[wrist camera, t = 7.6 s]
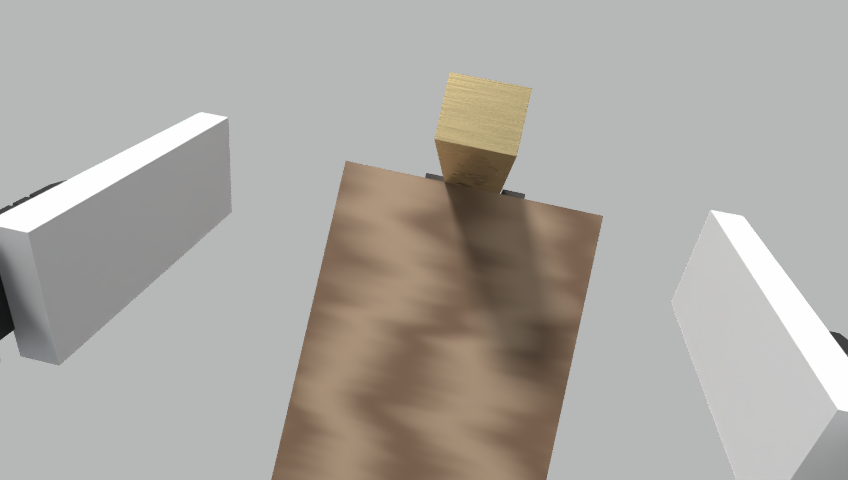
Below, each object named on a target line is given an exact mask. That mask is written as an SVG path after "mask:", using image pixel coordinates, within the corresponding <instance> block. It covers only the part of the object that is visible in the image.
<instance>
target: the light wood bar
mask: <svg viewBox="0 0 848 480" xmlns="http://www.w3.org/2000/svg"><path fill="white" fill-rule="evenodd" d="M531 89H532V88H527V87H522V86H517V85H512V84H507V83H502V82H497V81H492V80H487V79H482V78H477V77H472V76H466V75H462V74H456V73H452V72H450V73H449V78H448V83H447V86H446V91H445V95H444V100H443V104H442V108H441V113H440V117H439V122H438V126H437V131H436V135H435V143H436V148H437V152H438V156H439V160H440V165H441V169H442V173H443V178H444V182H447V183H451V184H456V185H461V186H465V187H470V188H474V189H479V190H484V191H488V192H493V193H498V194H500V192H501V190H502V187H503V185H504V183H505V181H506V178H507V177H508V174H509V172H510V170H511V167H512V165H513V163H514V161H515V159H516V156H517V153H518V148H519V144H520V139H521V134H522V130H523V125H524V121H525V116H526V112H527V108H528V103H529V99H530V94H531Z"/></svg>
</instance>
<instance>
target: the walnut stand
mask: <svg viewBox="0 0 848 480" xmlns="http://www.w3.org/2000/svg"><path fill="white" fill-rule="evenodd" d="M524 197H525V194H522V193H517V192H512V191H508V190H503V191H502V193H501V194H498V193H493V192H488V191H484V190H479V189H474V188H470V187H465V186H461V185H456V184H451V183H447V182H444V178H443V176H438V175H433V174H428V173H426V177H425V178H423V177H419V176H414V175H409V174H404V173H400V172H395V171H391V170H386V169H381V168H377V167H372V166H367V165H363V164H358V163H353V162H349V161H346V162H345V167H344V171H343V175H342V180H341V184H340V189H339V193H338V197H337V201H336V206H335V210H334V214H333V219H332V223H331V227H330V231H329V235H328V240H327V244H326V248H325V252H324V257H323V261H322V265H321V270H320V274H319V278H318V282H317V287H316V291H315V295H314V300H313V304H312V308H311V312H310V317H309V321H308V325H307V330H306V334H305V338H304V343H303V347H302V351H301V356H300V360H299V364H298V368H297V372H296V377H295V381H294V385H293V390H292V394H291V398H290V402H289V407H288V411H287V415H286V420H285V424H284V428H283V433H282V437H281V441H280V445H279V450H278V454H277V458H276V462H275V467H274V472H273V475H272V480H546V478H547V473H548V469H549V464H550V459H551V455H552V450H553V445H554V441H555V436H556V431H557V427H558V422H559V418H560V413H561V408H562V404H563V399H564V395H565V390H566V385H567V380H568V376H569V371H570V367H571V362H572V357H573V352H574V348H575V344H576V338H577V334H578V329H579V325H580V320H581V316H582V311H583V306H584V302H585V297H586V293H587V288H588V283H589V278H590V274H591V269H592V265H593V260H594V255H595V251H596V246H597V241H598V237H599V232H600V228H601V223H602V218H603V216H600V215H596V214H591V213H586V212H581V211H577V210H572V209H567V208H563V207H558V206H554V205H549V204H544V203H540V202H535V201H530V200H526V199H524Z"/></svg>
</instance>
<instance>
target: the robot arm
mask: <svg viewBox="0 0 848 480" xmlns="http://www.w3.org/2000/svg"><path fill="white" fill-rule="evenodd" d="M229 152H230V151H229V124H228V117H223V116H218V115H212V114H208V113H202V112H200V113H198V114H196V115H194V116H192V117H190V118H188V119H186V120H184V121H182V122H180V123H178V124H176V125H174V126H172V127H171V128H168V129H167V130H165V131H163V132H161V133H159V134H157V135H155V136H153V137H151V138H149V139H147V140H145V141H143V142H141V143H139V144H137V145H135V146H133V147H132V148H129V149H127V150H126V151H124V152H122V153H120V154H118V155H116V156H114V157H112V158H110V159H108V160H106V161H104V162H102V163H100V164H98V165H96V166H94V167H92V168H90V169H89V170H87V171H85V172H83V173H81V174H79V175H77V176H75V177H73V178H71V179H69V180H65V181H61V182H58V183H54V184H50V185H48V186H46V187H44V188H42V189H41V190H38V191H36V192H34V193H32V194H30V197H24V198H23V199H20V200H19V201H16V202H14V203H13V206H9V205H8V206H6V207H5V208H2V209H1V210H0V340H1V339H2V338H4V337H5V336H6V335H8V334H9V333H10V332H12V331H13V330H14V334H15V337H16V341H17V345H18V348H19V352H20V356H22V357H26V358H31V359H35V360H39V361H43V362H47V363H51V364H55V365H60V364H61V363H62V362H64V360H66V359H67V358H68V357H69V356H70V355H72V354H73V353H74V352H75V351H76V350H77V349H78V348H79V347H81V346H82V345H83V344H84V343H85V342H86V341H87V340H88V339H89V338H91V337H92V336H93V335H94V334H95V333H96V332H97V331H99V330H100V329H101V328H102V327H103V326H104V325H105V324H106V323H107V322H109V320H111V319H112V318H113V317H114V316H115V315H116V314H118V313H119V312H120V311H121V310H122V309H123V308H124V307H125V306H127V305H128V304H129V303H130V302H131V301H132V300H133V299H134V298H136V297H137V295H139V294H140V293H141V292H142V291H143V290H144V289H146V288H147V287H148V286H149V285H150V284H151V283H152V282H153V281H154V280H156V279H157V278H158V277H159V276H160V275H161V274H162V273H163V272H165V271H166V270H167V269H168V268H169V267H170V266H171V265H172V264H174V263H175V262H176V261H177V260H178V259H179V258H180V257H182V256H183V255H184V254H185V253H186V252H187V251H188V250H189V249H191V248H192V247H193V246H194V245H195V244H196V243H197V242H198V241H200V240H201V239H202V238H203V237H204V236H205V235H206V234H207V233H208V232H210V230H212V229H213V228H214V227H215V226H216V225H218V223H220V222H221V221H222V220H223V219H224V218H225V217H227V216H228V215H229V214H230V213H231V212H232V209H231V181H230V153H229ZM671 305H672V307H673V310H674V313H675V316H676V318H677V321H678V324H679V327H680V329H681V332H682V335H683V337H684V340H685V343H686V345H687V348H688V351H689V354H690V357H691V359H692V362H693V365H694V368H695V370H696V373H697V376H698V378H699V381H700V384H701V387H702V389H703V392H704V395H705V398H706V400H707V403H708V406H709V408H710V411H711V414H712V417H713V419H714V422H715V425H716V428H717V430H718V433H719V436H720V438H721V441H722V444H723V447H724V449H725V452H726V455H727V458H728V460H729V463H730V466H731V468H732V471H733V474H734V477H735V479H736V480H848V340H847V339H846V338H845V337H844V336H842V335H841V334H839V333H835V332H830V331H828V330H827V328H826V327H825V326H824V324H823V323H822V322H821V320H820V319H819V318H818V316H817V315H816V313H815V312H814V311H813V310H812V308H811V307H810V305H809V304H808V303H807V301H806V300H805V299H804V297H803V296H802V295H801V293H800V292H799V291H798V289H797V288H796V287H795V285H794V284H793V283H792V281H791V280H790V278H789V277H788V276H787V274H786V273H785V272H784V271H783V269H782V268H781V266H780V265H779V264H778V262H777V261H776V260H775V258H774V257H773V256H772V254H771V253H770V252H769V250H768V249H767V247H766V246H765V245H764V244H763V242H762V241H761V240H760V238H759V237H758V235H757V234H756V233H755V231H754V230H753V229H752V227H751V226H750V225H749V223H748V222H747V221H746V220H745V218H744V217H743V216H740V215H734V214H729V213H724V212H718V211H714V210H710V212H709V214H708V217H707V219H706V222H705V224H704V226H703V229H702V231H701V233H700V236H699V238H698V240H697V243H696V245H695V247H694V250H693V252H692V254H691V257H690V259H689V262H688V264H687V266H686V269H685V271H684V273H683V276H682V278H681V280H680V283H679V285H678V287H677V290H676V292H675V294H674V297H673V299H672V302H671Z"/></svg>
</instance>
